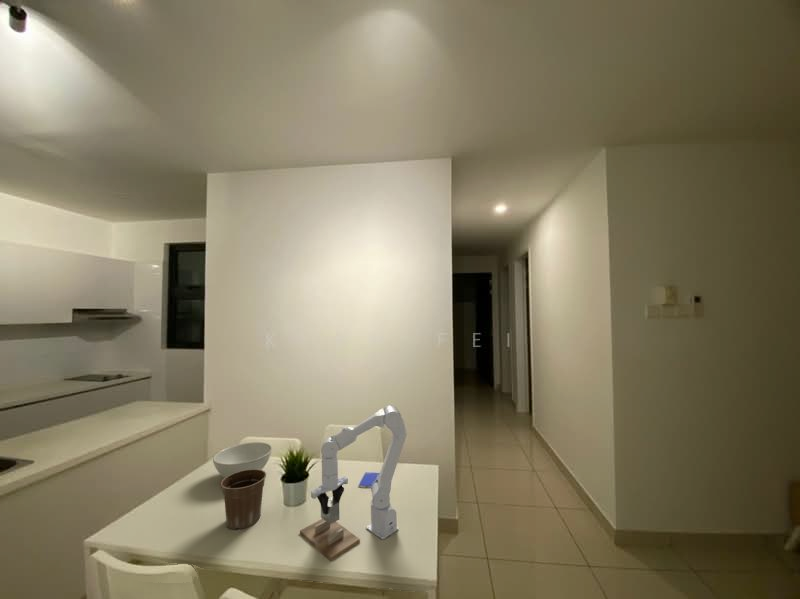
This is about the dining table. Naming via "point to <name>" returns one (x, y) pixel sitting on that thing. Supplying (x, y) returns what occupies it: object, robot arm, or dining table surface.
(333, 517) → the block
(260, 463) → the decorative bowl
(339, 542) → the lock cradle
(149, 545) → the dining table surface
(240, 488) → the plant pot
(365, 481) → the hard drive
